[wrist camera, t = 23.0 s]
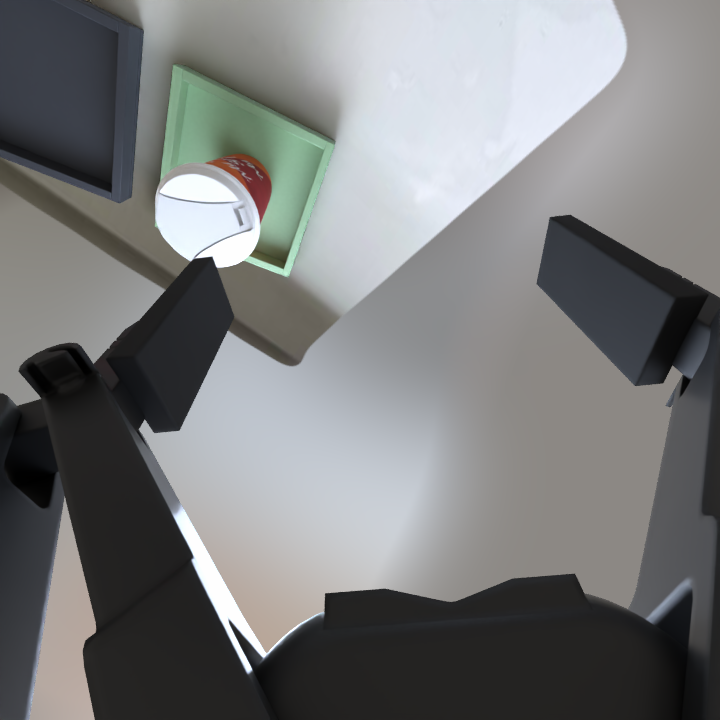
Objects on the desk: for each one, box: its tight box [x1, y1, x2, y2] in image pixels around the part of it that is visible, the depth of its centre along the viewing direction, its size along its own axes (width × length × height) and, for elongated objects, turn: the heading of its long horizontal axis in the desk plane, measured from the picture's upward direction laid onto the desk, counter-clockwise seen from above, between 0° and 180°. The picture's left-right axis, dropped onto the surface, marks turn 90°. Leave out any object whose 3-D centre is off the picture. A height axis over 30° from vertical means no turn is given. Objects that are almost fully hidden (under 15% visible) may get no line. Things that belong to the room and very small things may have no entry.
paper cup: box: [155, 154, 272, 267], centre depth 33 cm, size 8×8×14 cm
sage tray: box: [155, 64, 335, 277], centre depth 38 cm, size 15×15×3 cm
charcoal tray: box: [0, 0, 144, 203], centre depth 32 cm, size 15×15×3 cm
